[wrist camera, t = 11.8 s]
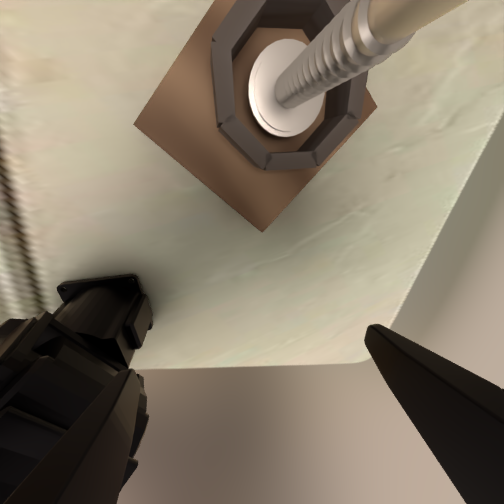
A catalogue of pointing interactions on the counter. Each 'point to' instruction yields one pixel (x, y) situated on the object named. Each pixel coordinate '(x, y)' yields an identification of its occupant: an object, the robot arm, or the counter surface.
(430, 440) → the robot arm
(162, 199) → the counter surface
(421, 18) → the screw
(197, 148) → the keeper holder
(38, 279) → the counter surface
